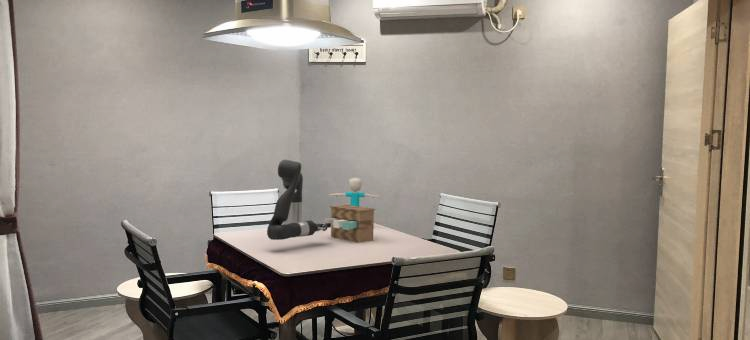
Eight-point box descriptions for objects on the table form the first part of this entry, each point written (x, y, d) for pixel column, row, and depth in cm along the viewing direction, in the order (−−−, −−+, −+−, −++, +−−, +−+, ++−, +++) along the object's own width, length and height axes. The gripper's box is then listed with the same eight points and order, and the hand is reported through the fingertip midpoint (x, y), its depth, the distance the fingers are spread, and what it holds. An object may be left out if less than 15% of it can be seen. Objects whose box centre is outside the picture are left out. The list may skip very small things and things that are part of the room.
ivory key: (333, 227, 344) (333, 220, 344) (345, 225, 350) (345, 218, 350) (338, 228, 341) (338, 221, 341) (350, 226, 348) (350, 219, 347)
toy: (380, 227, 390) (381, 177, 387) (379, 230, 380) (380, 178, 378) (330, 225, 393) (330, 176, 390) (327, 228, 383) (328, 177, 381)
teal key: (342, 229, 339) (342, 221, 339) (354, 227, 346) (354, 220, 345) (347, 230, 337) (347, 222, 336) (359, 228, 343) (360, 220, 343)
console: (329, 237, 356) (330, 206, 354) (344, 234, 363) (344, 204, 362) (359, 243, 340) (360, 210, 339) (374, 240, 348) (374, 208, 346)
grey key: (324, 225, 349) (324, 218, 349) (336, 224, 355) (336, 217, 355) (329, 226, 346) (329, 219, 346) (341, 224, 353) (341, 217, 352)
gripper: (312, 222, 322) (338, 219, 335) (295, 219, 331) (321, 216, 344) (312, 238, 323) (338, 234, 335) (295, 234, 332) (321, 230, 345)
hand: (329, 225), depth 340 cm, fingers closed
